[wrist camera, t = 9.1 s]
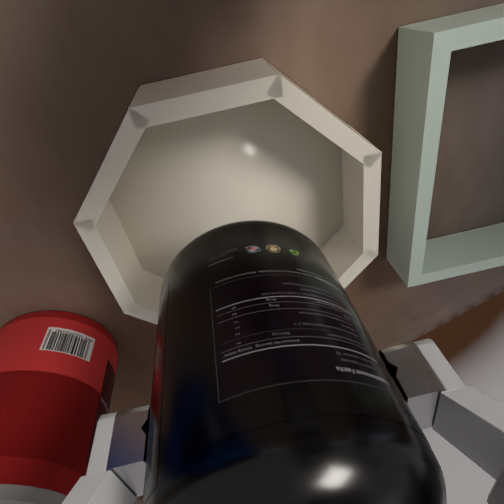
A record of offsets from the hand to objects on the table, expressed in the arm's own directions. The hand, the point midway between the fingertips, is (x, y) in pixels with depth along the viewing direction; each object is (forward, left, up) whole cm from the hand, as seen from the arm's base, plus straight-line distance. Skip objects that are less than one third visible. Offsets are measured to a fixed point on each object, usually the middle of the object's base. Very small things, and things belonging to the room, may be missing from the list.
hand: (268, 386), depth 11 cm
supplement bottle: (0, 0, -5) cm, 5 cm away
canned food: (+14, +8, -12) cm, 20 cm away
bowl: (0, 0, -12) cm, 12 cm away
